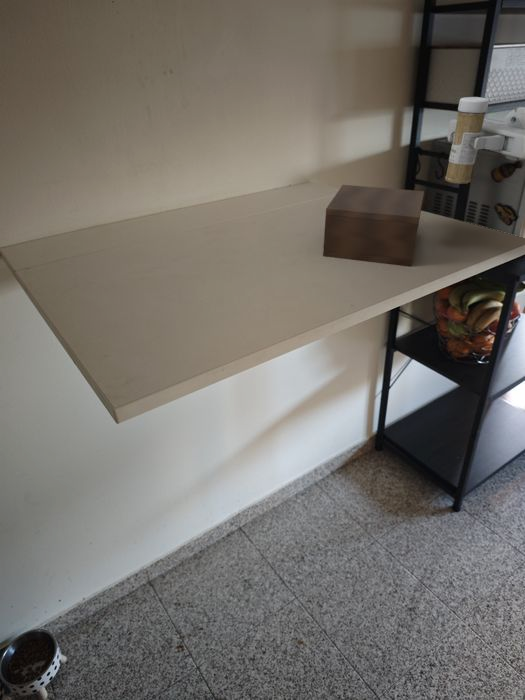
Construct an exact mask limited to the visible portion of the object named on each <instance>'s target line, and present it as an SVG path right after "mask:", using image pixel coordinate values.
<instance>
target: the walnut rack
mask: <svg viewBox="0 0 525 700" xmlns="http://www.w3.org/2000/svg"><path fill="white" fill-rule="evenodd" d="M424 195H425V191H424V190H415V189H414V190H413V189H400V188H389V187H388V188H387V187H378V186H377V187H375V186H362V185H353V184H351V185H350V184H342V185H341V186H340V188H339V190H338V191H337V192H336V194H335V195H334V197H333V198H332V199H331V201H330V202H329V203H328V206H327V207H326V208H325V221H324V235H323V249H322V250H323V251H322V257H329V258H337V259H338V258H339V259H344V260H345V259H346V260H353V261H363V262H371V263H379V264H389V265H397V266H403V267H411V266H412V262H413V257H414V252H415V245H416V241H417V236H418V230H419V224H420V219H421V213H422V207H423V201H424Z"/></svg>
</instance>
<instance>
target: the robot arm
mask: <svg viewBox="0 0 525 700" xmlns="http://www.w3.org/2000/svg"><path fill="white" fill-rule="evenodd" d="M457 118H458V117H455V118H451V120H450V121H449V123H448V128H447V135H446V138H447V141H448V143H452V142H453V137H454V133H455V129H456V124H457ZM481 131H482V132H481V136H477V137H472V139H471V144H470V147H471V148H473V149H478V150H487V151H491V152H495V153H499V154H502V155H503V156H504V158H505V159H507V160H509V161H512V162H514V161H525V106H519V107H516V108H514V109H512V110H511V111H509V112H508V113H507V114H506V115H505V117H504V118H503V120H498V119H494V118H489V117H484V121H483V126H482V130H481Z"/></svg>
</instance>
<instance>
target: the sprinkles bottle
mask: <svg viewBox="0 0 525 700" xmlns="http://www.w3.org/2000/svg"><path fill="white" fill-rule="evenodd" d="M489 103H490V101H489V98H486V97H479V96H465V97H460V99H459V102H458V106H457V111H458V112H457V114H458V115H457V117H456V118H457V124H456V129H455V133H454V137H453V142H451V146H450V147H451V148H450V153H449V157H448V164H447V170H446V175H445V176H444V180H445V181H446V182H448V183H450V184H457V185H459V184H460V185H465V184H469V183H471V181H472V174H473V170H474V165H475V162H476V158H477V154H478V150H479V149H473V148H471V147H470V144H471V139H472V137H477V136H481V132H482V131H481V130H482V126H483V121H484V118H485V117H486V113H487V111H488V108H489V107H488V106H489Z"/></svg>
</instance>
